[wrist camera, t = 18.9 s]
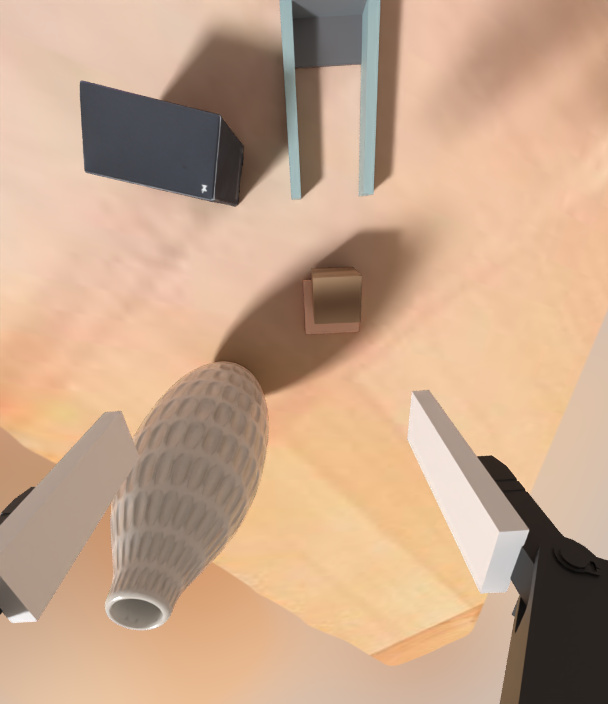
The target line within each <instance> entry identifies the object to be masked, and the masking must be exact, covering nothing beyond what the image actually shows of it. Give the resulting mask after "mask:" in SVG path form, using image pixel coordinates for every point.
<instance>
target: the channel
mask: <svg viewBox="0 0 608 704" xmlns="http://www.w3.org/2000/svg"><path fill="white" fill-rule="evenodd" d="M280 15H281V32H282V49H283V65H284V82H285V99H286V115H287V132H288V148H289V165H290V182H291V198H292V200H299V199H301V185H300V164H299V144H298V123H297V103H296V82H295V68H307V67H324V66H342V65H359V64H361V101H360V155H359V196H368V195H372V194H374V167H375V139H376V111H377V82H378V54H379V26H380V0H280Z"/></svg>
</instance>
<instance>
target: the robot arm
mask: <svg viewBox="0 0 608 704" xmlns="http://www.w3.org/2000/svg"><path fill="white" fill-rule="evenodd" d="M407 440H408V442H409V444H410V446H411V448H412V450H413V452H414V454H415V456H416V459H417V461H418V463H419V465H420V467H421V469H422V471H423V473H424V475H425V478H426V480H427V482H428V484H429V486H430V488H431V490H432V492H433V494H434V497H435V499H436V501H437V503H438V505H439V507H440V509H441V511H442V513H443V516H444V518H445V520H446V522H447V524H448V526H449V528H450V530H451V532H452V535H453V537H454V539H455V541H456V543H457V545H458V547H459V549H460V551H461V554H462V556H463V558H464V560H465V562H466V564H467V566H468V568H469V570H470V573H471V575H472V577H473V579H474V581H475V583H476V585H477V587H478V589H479V592H480V593H493V592H494V593H495V592H507V589H508V586H509V584H510V581H511V580H512V582H513V584H514V586H515V587H516V589H517V591H518V593H519V594H520V596H519V598H518V600H517V603H516V605H515V608H514V610H513V613H512V615H513V616H515V619H514V624H513V630H512V637H511V642H510V648H509V654H508V659H507V665H506V671H505V677H504V683H503V688H502V694H501V700H500V704H608V560H604V559H601V558H598V557H596V556H595V555H594V554H593V553H592V552H590V551H589V550H588V549H587V548H586V547H584V546H583V545H581V544H579V543H577V542H576V541H574V540H571V539H569V538H566V537H564V536H563V535H562V534H561V533H560V532H559V531H558V529H557V528H556V527H555V526H554V524H553V523H552V522H551V521H550V520H549V518H548V517H547V516H546V515H545V513H544V512H543V511H542V510H541V508H540V507H539V506H538V505H537V503H536V502H535V501H534V500H533V498H532V497H531V496H530V495H529V493H528V492H526V491H525V488H524V487H523V486H522V485H521V483H520V482H519V481H517V479H516V477H515V476H514V475H513V474H512V472H511V471H510V470H509V469H508V467H507V466H506V465H504V464H503V463H502V462H500V461H499V460H497V459H496V458H495V457H493V456H476V455H475V453H474V452H473V451H472V449H471V448H470V446H469V445H468V444H467V442H466V441H465V439H464V438H463V437H462V435H461V434H460V432H459V431H458V430H457V428H456V427H455V425H454V424H453V423H452V421H451V420H450V418H449V417H448V416H447V414H446V413H445V412H444V410H443V409H442V407H441V406H440V405H439V403H438V402H437V400H436V399H435V398H434V396H433V395H432V393H431V392H430V391H429V390H423V391H412V397H411V407H410V418H409V428H408V438H407ZM138 459H139V455H138V452H137V450H136V447H135V445H134V442H133V440H132V437H131V434H130V432H129V429H128V427H127V424H126V421H125V419H124V416H123V414H122V411H117V412H105V413H104V414H103V415H102V416H101V417H100V418H99V419H98V420H97V421H96V422H95V423H94V424H93V425H92V427H91V428H90V429H89V430H88V431H87V432H86V433H85V434H84V435H83V436H82V437H81V438H80V440H79V441H78V442H77V443H76V444H75V445H74V446H73V447H72V448H71V449H70V450H69V451H68V453H67V454H66V455H65V456H64V457H63V458H62V459H61V460H60V461H59V462H58V463H57V464H56V466H55V467H54V468H53V469H52V470H51V471H50V472H49V473H48V474H47V475H46V477H45V478H43V480H42V481H41V482H40V483H39V484H38V485H37V486H36V487H31V488H30V489H28V490H27V491H25V492H24V493H22V494H21V495H20V496H18V497H17V498H15V499H14V500H13V501H12V502H11V503H10V504H9V505H8V506H7V507H6V508H5V510H4V511H3V512H2V513H1V515H0V614H1V613H2V612H3V613H4V615H5V616H6V617H7V618H8V619H9V620H10V621H11V622H12V623H18V622H34V621H38V619H39V618H40V616H41V615H42V613H43V611H44V610H45V608H46V607H47V605H48V603H49V602H50V600H51V599H52V597H53V595H54V594H55V592H56V590H57V589H58V587H59V585H60V584H61V582H62V581H63V579H64V578H65V576H66V574H67V573H68V571H69V570H70V568H71V566H72V565H73V563H74V562H75V560H76V558H77V557H78V555H79V554H80V552H81V550H82V549H83V547H84V545H85V544H86V542H87V541H88V539H89V537H90V536H91V534H92V533H93V531H94V529H95V528H96V526H97V525H98V523H99V521H100V520H101V518H102V517H103V515H104V513H105V512H106V510H107V509H108V507H109V505H110V504H111V502H112V500H113V499H114V497H115V496H116V494H117V492H118V491H119V489H120V488H121V486H122V484H123V483H124V481H125V480H126V478H127V476H128V475H129V473H130V472H131V470H132V468H133V467H134V465H135V464H136V462H137V460H138Z"/></svg>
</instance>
